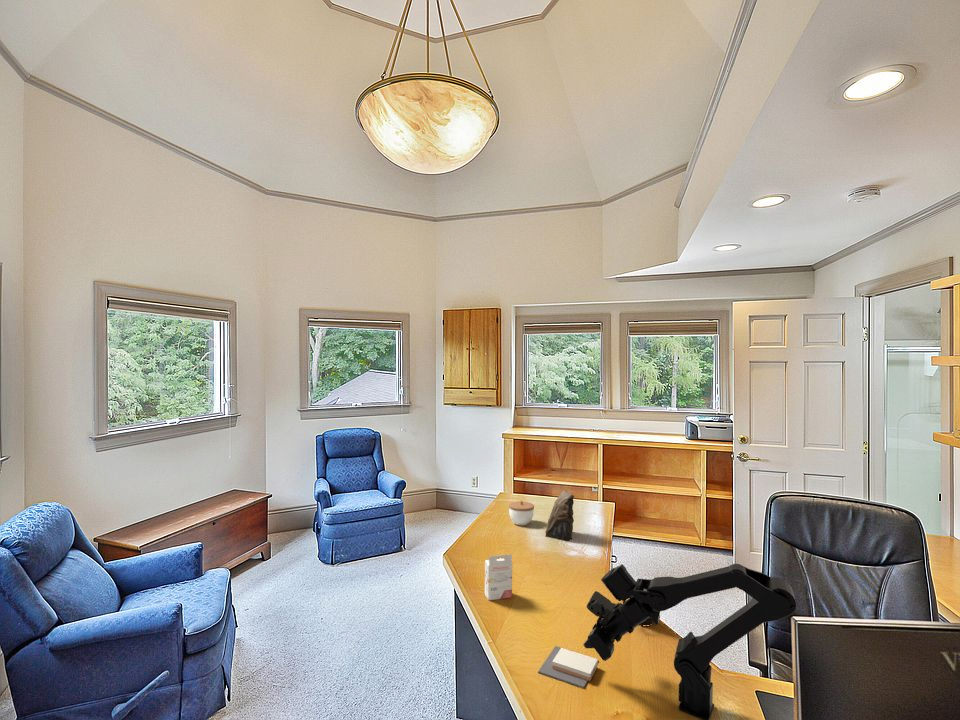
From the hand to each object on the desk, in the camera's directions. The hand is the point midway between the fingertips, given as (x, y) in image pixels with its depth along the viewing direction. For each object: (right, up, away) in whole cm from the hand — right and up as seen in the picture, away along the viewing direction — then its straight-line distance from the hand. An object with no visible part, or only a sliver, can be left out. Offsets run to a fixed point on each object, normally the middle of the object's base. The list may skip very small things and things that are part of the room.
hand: (584, 645), depth 126 cm
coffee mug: (+22, -8, +26) cm, 35 cm away
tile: (+2, -5, -1) cm, 6 cm away
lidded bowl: (-7, -8, +117) cm, 117 cm away
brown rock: (+9, -8, +100) cm, 100 cm away
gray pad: (-4, -7, +2) cm, 8 cm away
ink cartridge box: (-21, -7, +40) cm, 46 cm away
